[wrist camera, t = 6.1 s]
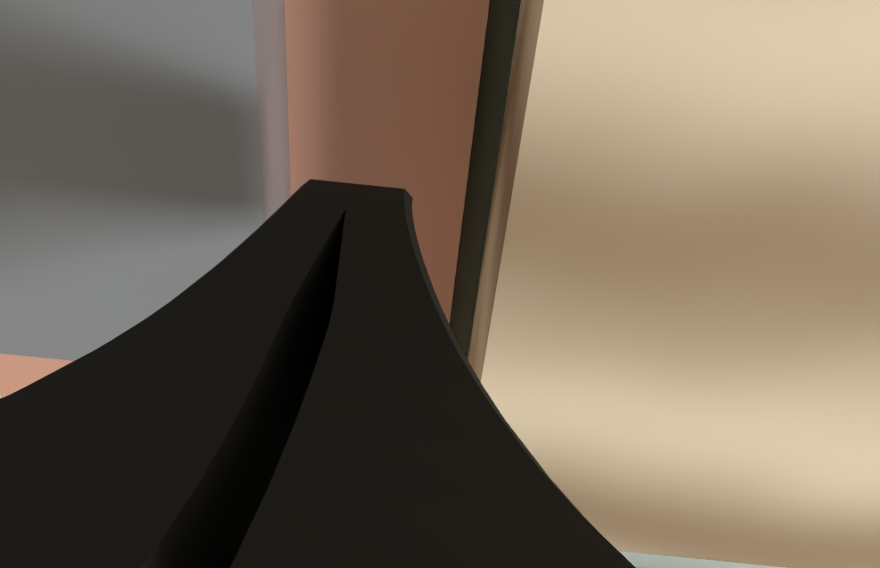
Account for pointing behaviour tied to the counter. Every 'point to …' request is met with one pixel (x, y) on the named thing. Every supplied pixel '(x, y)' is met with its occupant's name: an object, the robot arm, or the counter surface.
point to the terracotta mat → (374, 117)
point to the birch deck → (694, 273)
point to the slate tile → (130, 157)
